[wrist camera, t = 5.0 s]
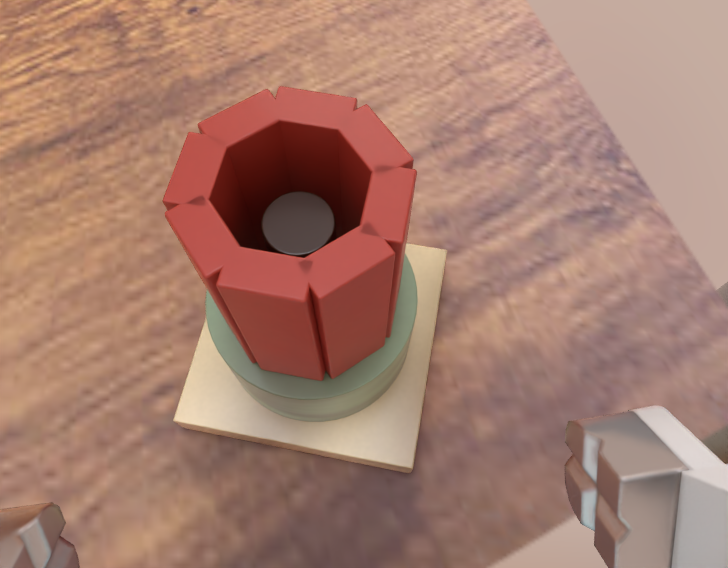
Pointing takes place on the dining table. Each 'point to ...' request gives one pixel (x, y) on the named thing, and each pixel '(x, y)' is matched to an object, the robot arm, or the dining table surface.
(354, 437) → the ring stand
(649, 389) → the dining table surface
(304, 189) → the ring sleeve
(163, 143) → the dining table surface
